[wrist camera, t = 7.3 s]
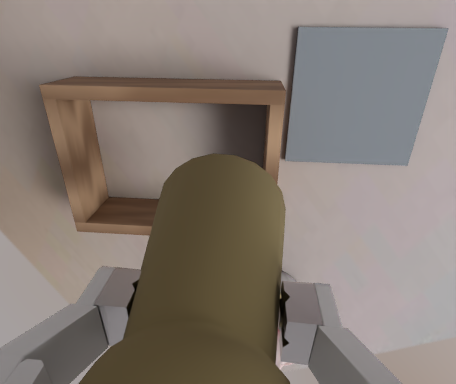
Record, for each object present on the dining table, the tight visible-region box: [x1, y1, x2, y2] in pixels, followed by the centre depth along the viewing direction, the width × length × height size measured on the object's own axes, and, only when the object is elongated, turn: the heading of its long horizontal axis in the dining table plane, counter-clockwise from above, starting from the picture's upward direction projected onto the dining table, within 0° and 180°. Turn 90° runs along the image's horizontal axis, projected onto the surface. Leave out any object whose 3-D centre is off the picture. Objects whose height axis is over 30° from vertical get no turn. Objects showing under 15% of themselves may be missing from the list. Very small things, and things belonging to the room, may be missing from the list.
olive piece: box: [79, 154, 290, 384], centre depth 10 cm, size 6×6×11 cm
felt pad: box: [285, 27, 449, 166], centre depth 26 cm, size 11×11×1 cm
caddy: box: [39, 77, 286, 235], centre depth 27 cm, size 13×18×5 cm
